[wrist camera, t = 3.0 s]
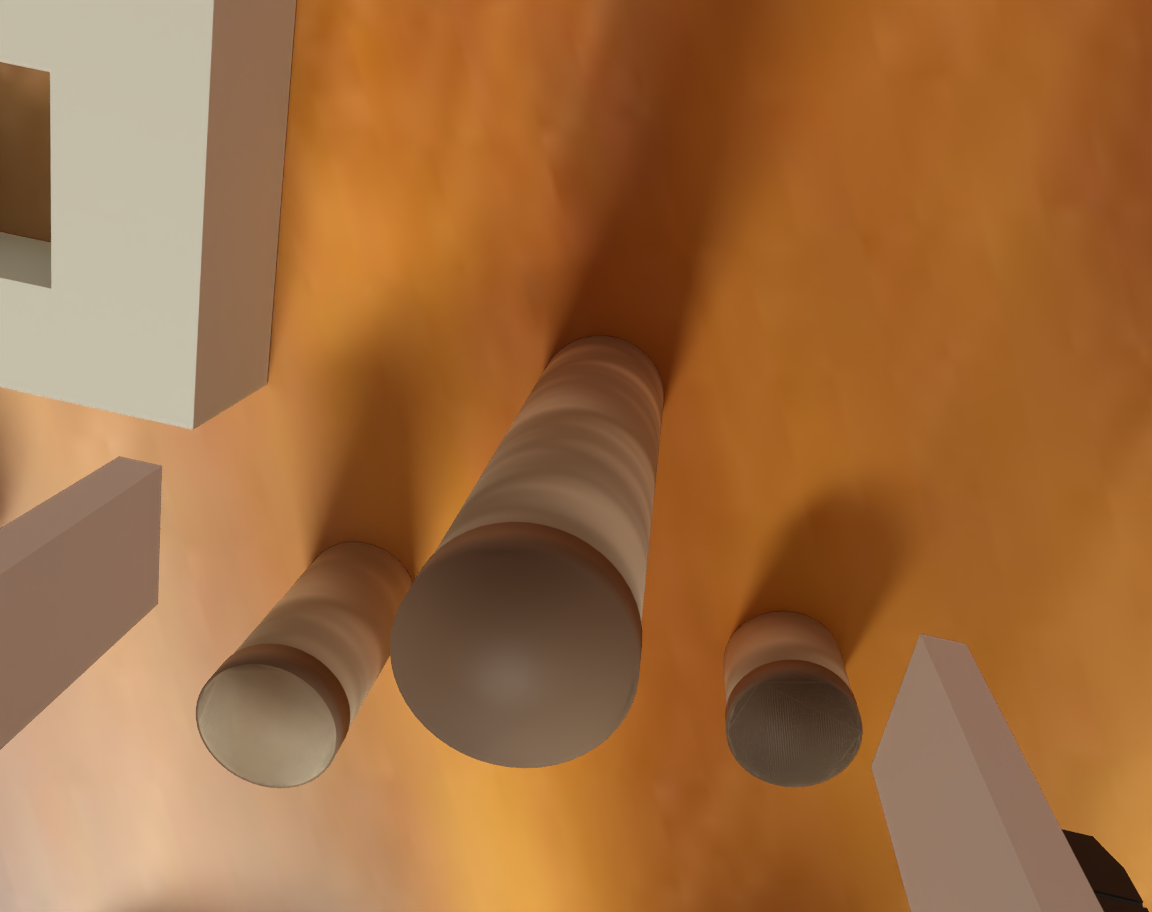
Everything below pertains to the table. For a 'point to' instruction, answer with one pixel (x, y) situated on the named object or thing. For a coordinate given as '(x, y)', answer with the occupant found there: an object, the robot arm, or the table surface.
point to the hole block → (150, 204)
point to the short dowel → (789, 701)
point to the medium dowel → (304, 669)
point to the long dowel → (543, 572)
